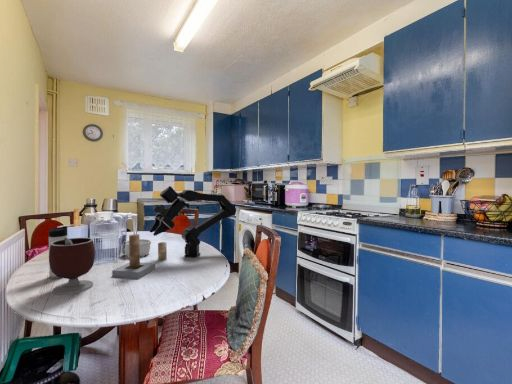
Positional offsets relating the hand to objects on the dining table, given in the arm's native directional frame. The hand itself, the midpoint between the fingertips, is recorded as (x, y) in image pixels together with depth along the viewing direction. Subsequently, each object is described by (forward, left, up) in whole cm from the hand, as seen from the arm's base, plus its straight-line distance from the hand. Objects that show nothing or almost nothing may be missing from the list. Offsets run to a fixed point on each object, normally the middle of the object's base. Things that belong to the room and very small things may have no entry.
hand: (151, 233), depth 134 cm
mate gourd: (+9, +37, -14) cm, 40 cm away
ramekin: (+14, -9, -14) cm, 22 cm away
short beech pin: (-3, -4, -13) cm, 14 cm away
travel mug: (+25, +27, -14) cm, 39 cm away
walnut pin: (-2, +17, -13) cm, 21 cm away
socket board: (-2, +17, -13) cm, 22 cm away
